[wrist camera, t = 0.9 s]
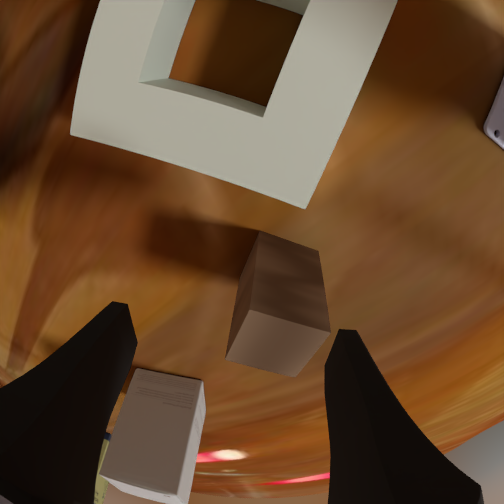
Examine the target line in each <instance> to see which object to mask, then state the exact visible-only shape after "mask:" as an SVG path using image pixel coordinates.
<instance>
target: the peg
mask: <svg viewBox="0 0 504 504" xmlns="http://www.w3.org/2000/svg"><path fill="white" fill-rule="evenodd" d="M330 333H331V330H330V323H329V316H328V309H327V302H326V295H325V288H324V282H323V276H322V270H321V263H320V258H319V252H318V251H316V250H314V249H311V248H308V247H305V246H302V245H300V244H297V243H294V242H291V241H288V240H285V239H283V238H280V237H277V236H274V235H271V234H268V233H265V232H263V231H259V233H258V236H257V238H256V241H255V243H254V245H253V248H252V250H251V252H250V255H249V257H248V260H247V262H246V264H245V267H244V269H243V271H242V274H241V276H240V279H239V285H238V290H237V296H236V301H235V306H234V312H233V317H232V323H231V328H230V334H229V339H228V345H227V350H226V356H225V360H228V361H232V362H236V363H239V364H243V365H247V366H250V367H254V368H258V369H262V370H266V371H270V372H274V373H278V374H282V375H287V376H291V377H296V376H297V374H298V373H299V372H300V371H301V370H302V368H303V367H304V366H305V365H306V364H307V362H308V361H309V360H310V359H311V357H312V356H313V355H314V354H315V352H316V351H317V350H318V349H319V347H320V346H321V345H322V344H323V342H324V341H325V340H326V338H327V337H328V336H329V335H330Z"/></svg>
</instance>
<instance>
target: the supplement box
mask: <svg viewBox="0 0 504 504" xmlns="http://www.w3.org/2000/svg"><path fill="white" fill-rule="evenodd" d="M205 413H206V407H205V398H204V388H203V381H201V380H196V379H190V378H185V377H179V376H174V375H169V374H164V373H159V372H154V371H149V370H145V369H140V368H137V369H136V370H135V372H134V375H133V377H132V380H131V382H130V385H129V388H128V391H127V393H126V396H125V399H124V402H123V404H122V407H121V410H120V413H119V415H118V418H117V421H116V424H115V427H114V430H113V433H112V436H111V439H110V442H109V445H108V448H107V451H106V454H105V457H104V460H103V463H102V466H101V469H100V472H99V475H100V476H102V477H103V478H104V479H106V480H107V481H108V482H110V483H111V484H113V485H114V486H115V487H117V488H118V489H119V490H121V491H123V492H126V493H129V494H132V495H135V496H139V497H142V498H146V499H150V500H154V501H158V502H162V503H167V504H188V500H189V496H190V491H191V486H192V480H193V475H194V469H195V464H196V459H197V453H198V448H199V443H200V438H201V432H202V428H203V423H204V418H205Z"/></svg>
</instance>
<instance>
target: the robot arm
mask: <svg viewBox="0 0 504 504" xmlns="http://www.w3.org/2000/svg"><path fill="white" fill-rule="evenodd" d="M495 130H496V132H497V133H496V135H495V136H494V132H495ZM484 132H485V134H486V135H487V136H489V137H490V138H491V139H492V140H493V141H494V142H496V143H497V144H498V145H499V146H500V147H501V148H502V149H503V150H504V77H503V80H502V82H501V85H500V88H499V90H498V93H497V95H496V98H495V100H494V103H493V105H492V108H491V110H490V112H489V115H488V117H487V119H486V122H485V124H484ZM137 343H138V342H137V338H136V335H135V331H134V327H133V324H132V320H131V316H130V312H129V308H128V304H125V303H119V302H114V301H112V302H111V303H110V304H109V305H108V306H107V307H105V308H104V309H103V310H102V311H101V312H100V313H99V314H97V315H96V316H95V317H94V318H93V319H92V320H91V321H90V322H89V323H88V324H86V325H85V326H84V327H83V328H82V329H81V330H80V331H79V332H77V333H76V334H75V335H74V336H73V337H72V338H71V339H70V340H68V341H67V342H66V343H65V344H64V345H62V346H61V347H60V348H59V349H58V350H56V351H55V352H54V353H53V354H52V355H50V356H49V357H48V358H47V359H45V360H44V361H43V362H41V363H40V364H39V365H37V366H36V367H34V368H33V369H31V370H30V371H28V372H27V373H25V374H24V375H22V376H21V377H19V378H17V379H15V380H14V381H12V382H10V383H9V384H7V385H5V386H4V387H2V388H0V504H94V496H95V485H96V478H97V471H98V464H99V459H100V454H101V449H102V445H103V441H104V436H105V433H106V429H107V425H108V422H109V419H110V416H111V413H112V411H113V408H114V406H115V404H116V401H117V399H118V396H119V394H120V391H121V389H122V387H123V384H124V382H125V379H126V377H127V375H128V372H129V370H130V367H131V364H132V361H133V357H134V354H135V350H136V347H137ZM325 401H326V410H327V420H328V429H329V439H330V454H331V460H330V483H329V497H328V504H484V501H483V495H482V490H481V486H480V485H479V484H478V483H476V482H475V481H474V480H472V479H471V478H470V477H468V476H467V475H466V474H465V473H463V472H462V471H460V470H459V469H458V468H457V467H456V466H455V465H454V464H453V463H451V462H450V461H449V460H448V459H447V458H446V457H445V456H444V455H443V454H442V453H441V452H440V451H439V450H438V449H437V448H436V447H435V446H434V445H433V444H432V443H431V441H430V440H429V439H428V438H427V437H426V436H425V435H424V434H423V432H422V431H421V430H420V429H419V428H418V426H417V425H416V424H415V423H414V421H413V420H412V419H411V418H410V416H409V415H408V414H407V412H406V411H405V409H404V408H403V407H402V405H401V404H400V402H399V401H398V399H397V398H396V396H395V395H394V393H393V392H392V390H391V389H390V387H389V386H388V384H387V382H386V381H385V379H384V377H383V376H382V374H381V372H380V371H379V369H378V367H377V366H376V364H375V362H374V360H373V359H372V357H371V355H370V353H369V352H368V350H367V348H366V346H365V344H364V343H363V341H362V339H361V337H360V335H359V334H358V332H357V331H356V330H345V329H339V331H338V333H337V336H336V338H335V341H334V344H333V346H332V349H331V351H330V354H329V356H328V359H327V361H326V363H325Z"/></svg>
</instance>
